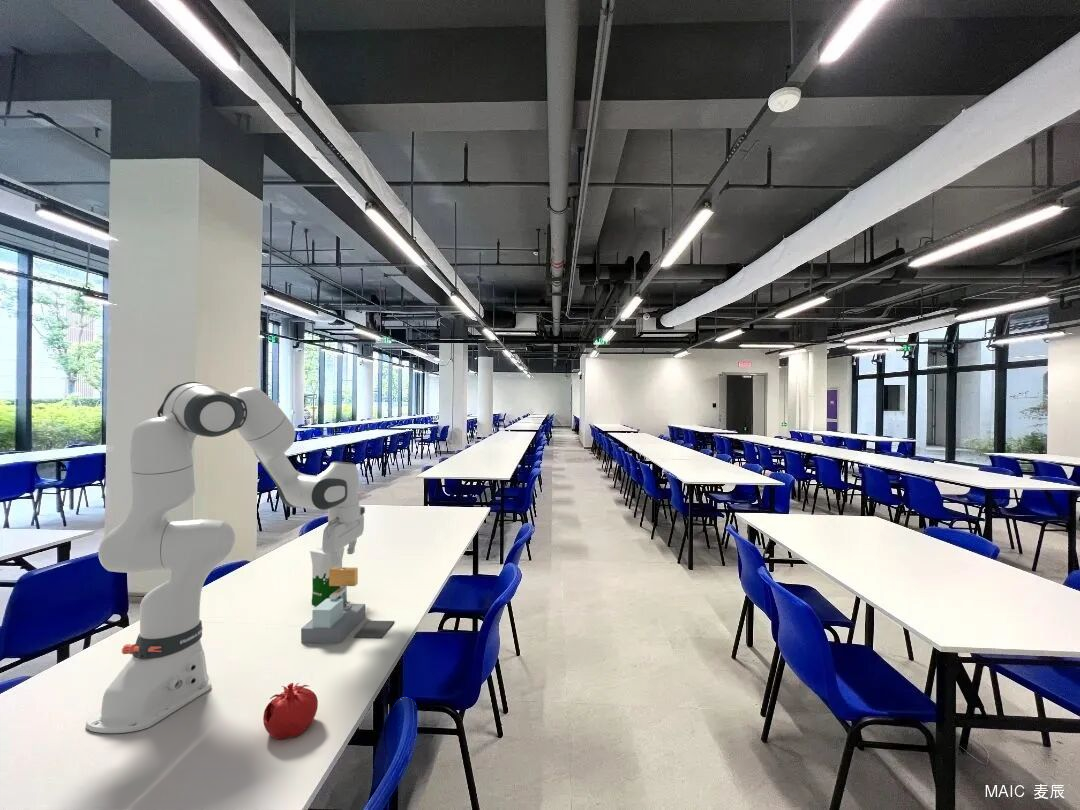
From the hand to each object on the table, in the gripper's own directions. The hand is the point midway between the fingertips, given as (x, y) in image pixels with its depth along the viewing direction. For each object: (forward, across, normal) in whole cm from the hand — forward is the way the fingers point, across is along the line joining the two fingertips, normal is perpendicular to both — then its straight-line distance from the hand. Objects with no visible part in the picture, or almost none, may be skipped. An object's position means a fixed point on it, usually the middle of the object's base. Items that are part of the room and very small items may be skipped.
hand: (344, 558), depth 147 cm
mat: (+19, -6, -12) cm, 23 cm away
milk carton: (+20, +13, +12) cm, 26 cm away
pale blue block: (+15, -10, 0) cm, 18 cm away
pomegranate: (+18, -49, -12) cm, 54 cm away
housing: (+19, -6, 0) cm, 20 cm away
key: (+15, -3, 0) cm, 15 cm away
